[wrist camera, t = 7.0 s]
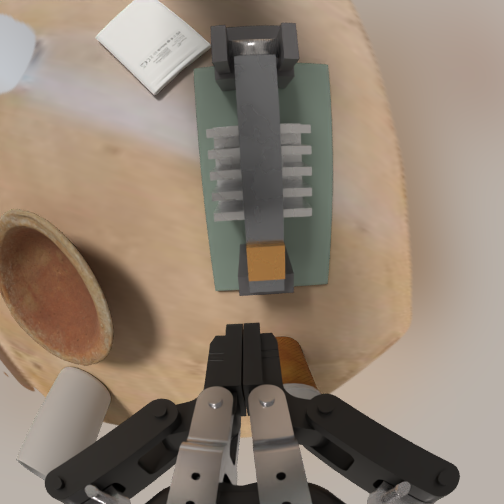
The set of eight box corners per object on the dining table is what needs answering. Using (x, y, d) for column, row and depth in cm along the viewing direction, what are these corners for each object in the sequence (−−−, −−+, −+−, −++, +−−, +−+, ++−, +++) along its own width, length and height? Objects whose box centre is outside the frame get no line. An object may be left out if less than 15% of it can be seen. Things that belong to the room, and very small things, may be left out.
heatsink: (217, 128, 27) (205, 126, 19) (293, 124, 27) (310, 121, 19) (223, 200, 30) (214, 224, 22) (295, 196, 30) (311, 219, 22)
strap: (229, 44, 16) (228, 37, 15) (276, 42, 16) (278, 35, 15) (246, 285, 25) (246, 296, 23) (286, 283, 25) (288, 294, 23)
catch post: (240, 241, 32) (237, 276, 24) (283, 239, 32) (293, 273, 24) (241, 257, 33) (239, 295, 25) (283, 254, 33) (293, 292, 25)
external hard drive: (149, -4, 19) (213, 48, 23) (100, 40, 22) (157, 96, 25) (145, -10, 18) (211, 44, 22) (94, 37, 20) (152, 94, 24)
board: (195, 70, 24) (193, 68, 23) (325, 66, 24) (327, 64, 23) (216, 287, 35) (215, 290, 34) (326, 280, 34) (327, 283, 34)
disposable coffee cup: (236, 358, 40) (233, 424, 29) (272, 317, 37) (280, 387, 26) (285, 378, 42) (293, 438, 31) (323, 342, 39) (342, 405, 28)
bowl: (18, 175, 27) (-19, 188, 20) (151, 231, 31) (125, 260, 24) (18, 298, 36) (-5, 322, 29) (123, 354, 40) (108, 389, 33)
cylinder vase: (76, 358, 41) (25, 461, 18) (122, 397, 46) (90, 499, 23) (54, 372, 44) (10, 457, 21) (94, 406, 48) (63, 491, 26)
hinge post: (220, 51, 23) (205, 10, 13) (280, 48, 23) (297, 7, 13) (222, 92, 25) (208, 69, 15) (283, 89, 25) (304, 65, 15)
